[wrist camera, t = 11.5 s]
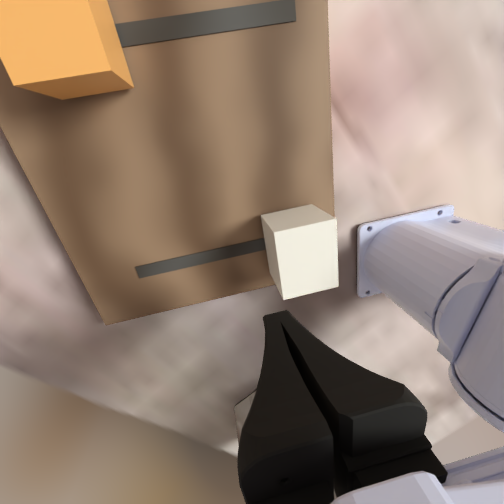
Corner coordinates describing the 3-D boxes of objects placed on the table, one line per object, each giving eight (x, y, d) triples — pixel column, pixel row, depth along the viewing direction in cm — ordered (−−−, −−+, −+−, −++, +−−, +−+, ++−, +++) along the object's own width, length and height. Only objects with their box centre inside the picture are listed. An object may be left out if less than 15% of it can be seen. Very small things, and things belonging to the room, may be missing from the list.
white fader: (311, 204, 19) (336, 218, 16) (315, 261, 21) (338, 286, 18) (260, 215, 19) (273, 232, 15) (269, 272, 21) (283, 300, 17)
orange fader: (97, -31, 12) (53, -100, 9) (134, 87, 15) (111, 70, 11) (11, -20, 12) (-70, -88, 9) (62, 99, 14) (13, 85, 11)
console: (309, -76, 15) (324, -108, 13) (326, 263, 24) (336, 274, 23) (-58, -33, 13) (-102, -62, 11) (115, 314, 23) (107, 330, 21)
